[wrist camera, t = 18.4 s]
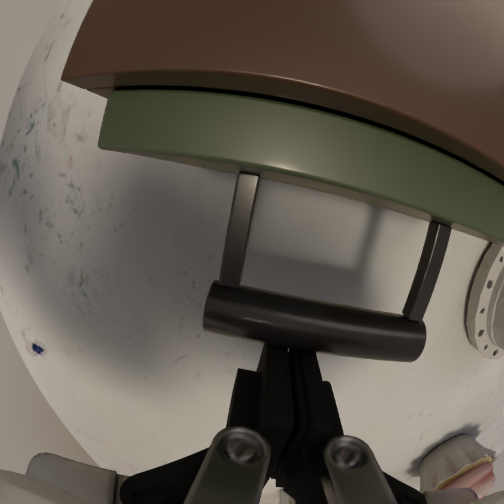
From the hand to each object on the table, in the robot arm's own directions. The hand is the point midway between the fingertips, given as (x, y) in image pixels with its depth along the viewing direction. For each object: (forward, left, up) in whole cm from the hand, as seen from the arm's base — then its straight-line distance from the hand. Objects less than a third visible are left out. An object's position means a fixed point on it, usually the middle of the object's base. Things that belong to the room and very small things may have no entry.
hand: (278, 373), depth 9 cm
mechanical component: (+17, +4, -6) cm, 18 cm away
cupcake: (+22, -14, -6) cm, 27 cm away
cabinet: (+1, +15, -6) cm, 16 cm away
